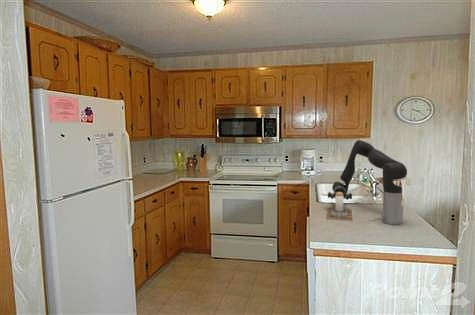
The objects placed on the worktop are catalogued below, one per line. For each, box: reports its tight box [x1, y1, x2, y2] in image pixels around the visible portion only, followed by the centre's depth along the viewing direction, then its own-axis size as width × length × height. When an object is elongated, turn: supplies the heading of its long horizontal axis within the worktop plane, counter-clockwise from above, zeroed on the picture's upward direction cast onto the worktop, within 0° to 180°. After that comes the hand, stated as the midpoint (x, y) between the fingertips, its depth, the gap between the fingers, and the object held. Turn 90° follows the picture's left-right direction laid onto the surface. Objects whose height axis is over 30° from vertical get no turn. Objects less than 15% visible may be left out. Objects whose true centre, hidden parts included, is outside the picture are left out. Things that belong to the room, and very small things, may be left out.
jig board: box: [325, 207, 353, 222], centre depth 191 cm, size 26×14×1 cm, turn 162°
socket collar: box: [332, 208, 347, 218], centre depth 187 cm, size 8×8×3 cm
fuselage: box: [334, 192, 344, 212], centre depth 186 cm, size 4×4×14 cm
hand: (339, 197), depth 194 cm, fingers open, 8 cm apart
